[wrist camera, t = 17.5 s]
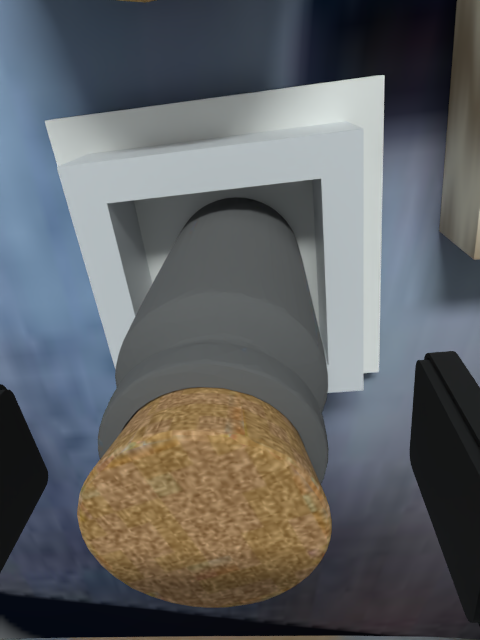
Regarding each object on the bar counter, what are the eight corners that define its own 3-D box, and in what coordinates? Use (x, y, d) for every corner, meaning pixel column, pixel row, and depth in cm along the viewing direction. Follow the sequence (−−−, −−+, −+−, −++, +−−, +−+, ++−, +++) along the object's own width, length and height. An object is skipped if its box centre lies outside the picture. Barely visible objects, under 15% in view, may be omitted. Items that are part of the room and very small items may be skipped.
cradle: (55, 118, 20) (3, 128, 16) (377, 75, 19) (410, 73, 15) (128, 379, 27) (103, 434, 22) (373, 359, 25) (396, 414, 21)
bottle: (295, 188, 20) (366, 393, 7) (302, 308, 23) (362, 623, 10) (165, 202, 21) (-5, 419, 7) (186, 318, 23) (90, 631, 10)
